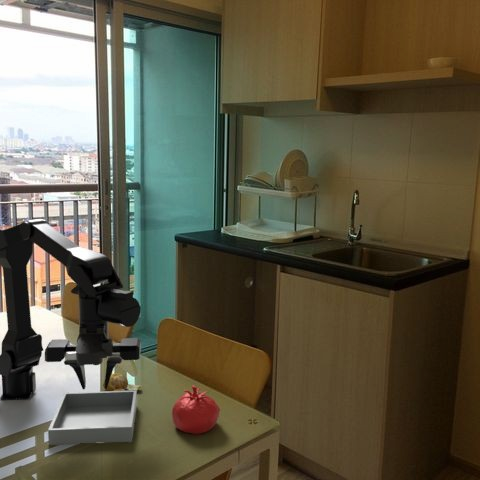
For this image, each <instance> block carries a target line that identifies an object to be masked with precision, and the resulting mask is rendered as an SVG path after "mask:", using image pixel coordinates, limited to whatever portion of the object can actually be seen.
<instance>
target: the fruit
mask: <svg viewBox="0 0 480 480" xmlns="http://www.w3.org/2000/svg"><path fill="white" fill-rule="evenodd" d="M102 386H103V389H104V390H105V391H126V390H131V391H135V390H137V391H139V390H140V389H141V388H142V385H140V384H138V385H136V384H130V383H129V381H128V378H127V377H126V376H125V375H124V374H123V373H122V372H116V373H115V372H114V373H112V374H111V377H110V380H109V383H108V386H107V389H105V379H104V380H103V384H102Z"/></svg>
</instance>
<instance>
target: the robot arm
mask: <svg viewBox="0 0 480 480" xmlns="http://www.w3.org/2000/svg"><path fill="white" fill-rule="evenodd" d="M34 244H35V245H36V246H37V247H38V248H40V249H41V250H43V251H44V252H46V253H47V254H48V255H50V256H51V257H52V258H54V259H55V260H57V262H60V264H62V265H63V266H64V267H65V269H66V274H67V276H68V277H69V278H70V279H71V280H72V281H73V282H74V284H76V285H75V286H74V287H73V288H71V290H70V293H71V294H73V295H77V296H78V321H79V323H78V327H79V331H78V333H79V334H78V336H77V339H76V344H71V341H70V339H69V338H68V339H67V338H65V339H64V338H62V339H51V341H50V342H49V343H48V344H47V346H46V348H45V350H44V348H43V336H42V335H41V333H37V332H36V330H35V329H34V328H33V327H32V317H31V304H30V295H29V292H30V291H29V281H28V280H29V279H28V266H27V265H28V264H29V262H30V260H31V258H32V256H33V252H34ZM0 266H1V267H2V273H3V285H4V296H5V297H4V298H5V309H6V322H7V331H6V332H5V335H4V338H3V339H2V341H1V354H0V376H1V387H2V394H1V395H0V401H4V400H5V401H7V400H28V399H30V398H31V397H32V395H33V394H34V393H35V390H36V388H37V382H36V372H34V367H37V366H39V365H40V360H41V357H42V355H43V352H44V362H45V363H60V362H62V361H63V360H64V361H63V363H64V365H66V366H69V367H71V368H72V369H73V371H74V372H75V374H76V376H77V379H78V382H79V384H80V386H81V388H82V390H86V382H87V381H86V378H87V377H86V368H85V365H86V366H87V365H88V366H89V365H93V366H99V365H102V363H103V359H107V360H106V368H105V369H106V370H105V374H104V375H105V377H104V380H105V388H104V390H106V389H107V386H108V383H109V380H110V377H111V374H113V371H114V368H115V367H116V365H118V364H121V363H122V362H123V361H137V360H140V358H141V357H140V356H141V351H142V340H140V338H138V337H128V338H127V337H126V338H125V337H124V338H123V337H122V338H121V341H120V343H113V338H109V323H111V324H115V325H118V326H122V327H127V328H131V327H133V326H134V325H135V324H136V323H137V322H138V320H139V319H140V316H141V311H142V310H141V309H142V307H141V305H140V302H139V300H138V299H137V298H136V297H134V292H133V291H131V290H122V289H124V285H123V284H122V281H121V279H120V277H119V275H118V274H117V272H116V270H115V267H114V266H113V264H112V261H111V259H110V258H109V257H108V256H107V255H105V254H103V253H100V252H98V251H96V250H92V249H88V248H84V247H81V246H79V245H78V244H77V243H75V242H74V241H72V240H71V239H69V238H68V237H67V236H65V235H64V234H63V233H61V232H59V231H58V230H57V229H55V228H54V227H52V226H51V225H50V224H49V223H48V221H47V220H46V219H43V218H38V219H36V218H35V219H31V220H25V221H23V222H21V223H19V224H17V225H14V226H11V227H8V228H7V227H6V228H0ZM106 282H107V283H106Z"/></svg>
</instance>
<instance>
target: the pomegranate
mask: <svg viewBox="0 0 480 480" xmlns="http://www.w3.org/2000/svg"><path fill="white" fill-rule="evenodd" d="M191 389H192V391H190V390H186V389H182V391H183V392H184V394H183V395H181V396H180V397H179V398H178V399H177V401H175V402H174V405H173V407H172V412H171V416H172V422H173V425H174V426H175V427H176V429H178V430H179V431H182V432H183V433H187V434H188V433H189V434H193V435H200V434H203V433H206V432H208V431H210V430H211V429H213V428H214V427H215V425H217V422H218V419H219V418H220V410H221V409H220V406H219V405H218V404H217V403H216V401H215V400H214V399H213V397H210V396H209V395H207V394H206V393H208V391H204V392H199V391H200V390H201V387H198V386H196V385H195V384H194V385H192V386H191Z"/></svg>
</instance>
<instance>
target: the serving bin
mask: <svg viewBox="0 0 480 480" xmlns="http://www.w3.org/2000/svg"><path fill="white" fill-rule="evenodd" d="M137 392H138V390H125V391H82V392H81V391H79V392H77V391H75V392H63V394H62V397H61V399H60V401H59V404H58V406H57V409H56V410H55V413H54V416H53V417H52V421H51V422H50V425H49V427H48V430H47V431H48V433H47V434H48V435H47V436H48V437H47V438H48V446H60V445H61V446H62V444H68V445H81V444H80V443H96V442H110V443H109V444H112V443H111V442H128V443H133V439H132V438H133V437H134V431H135V424H134V423H135V422H136V415H137V406H138V393H137ZM78 443H79V444H78Z"/></svg>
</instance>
